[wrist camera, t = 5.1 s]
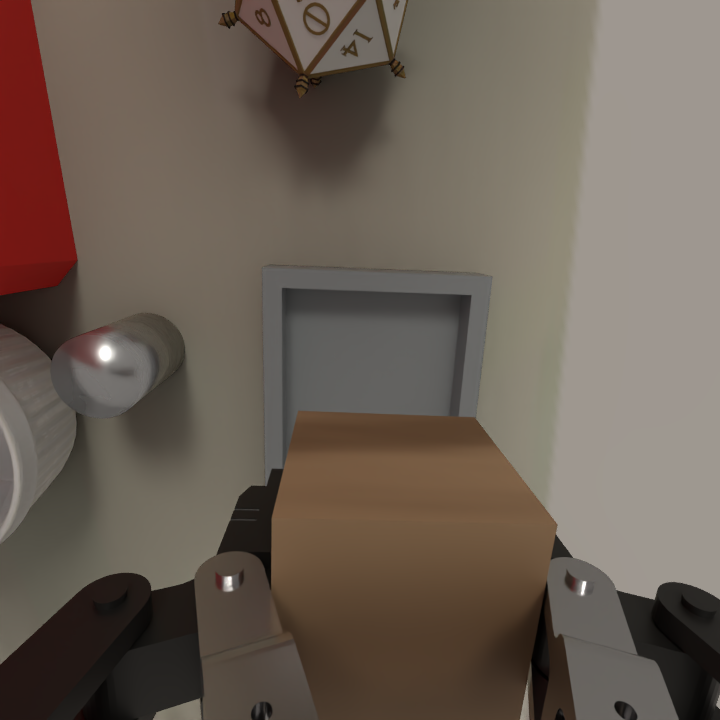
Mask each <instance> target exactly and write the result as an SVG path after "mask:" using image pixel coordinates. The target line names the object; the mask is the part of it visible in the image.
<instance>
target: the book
mask: <svg viewBox="0 0 720 720" xmlns="http://www.w3.org/2000/svg"><path fill="white" fill-rule="evenodd" d="M76 261H77V254H76V249H75V243H74V238H73V232H72V227H71V221H70V215H69V210H68V204H67V199H66V193H65V188H64V182H63V177H62V171H61V166H60V160H59V155H58V149H57V144H56V138H55V133H54V127H53V121H52V116H51V110H50V105H49V99H48V94H47V88H46V83H45V77H44V72H43V66H42V61H41V55H40V50H39V44H38V39H37V33H36V27H35V22H34V16H33V11H32V5H31V0H0V295H5V294H11V293H17V292H23V291H29V290H35V289H41V288H47V287H53V286H58V284H59V283H60V282H61V280H62V279H63V278H64V277H65V275H66V274H67V273H68V272H69V270H70V269H71V268H72V266H73V265H74V264H75V263H76Z"/></svg>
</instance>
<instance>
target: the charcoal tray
mask: <svg viewBox="0 0 720 720" xmlns="http://www.w3.org/2000/svg"><path fill="white" fill-rule="evenodd" d="M491 285H492V276H488V275H484V274H480V273H463V272H438V271H414V270H389V269H364V268H339V267H314V266H289V265H267V266H265V267H262V303H263V369H264V434H265V486H267V483H268V479H269V476H270V473H271V469H272V468H274V469H284V466H285V462H286V458H287V454H288V450H289V446H290V442H291V438H292V433H293V429H294V425H295V421H296V417H297V413H298V411H320V412H347V413H374V414H401V415H428V416H455V417H475V419H476V411H477V403H478V395H479V386H480V378H481V369H482V361H483V353H484V344H485V336H486V327H487V319H488V310H489V302H490V294H491Z"/></svg>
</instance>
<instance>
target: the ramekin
mask: <svg viewBox="0 0 720 720" xmlns="http://www.w3.org/2000/svg"><path fill="white" fill-rule="evenodd" d="M51 362H52V361H51V360H50V358H49V357H48V356H47V355H46V354H45V353H44V352H43V351H42V350H41V349H40V348H39V347H38V346H37V345H35V344H34V343H32V342H31V341H30V340H29V339H27V338H26V337H25V336H23V335H21V334H19V333H17V332H16V331H14V330H13V329H11V328H8V327H6V326H3V325H2V324H0V544H1V543H2V542H3V541H4V540H6V539H7V538H8V537H9V536H10V535H11V534H12V533H13V532H14V531H15V530H16V529H17V527H18V526H19V525H20V523H21V522H22V521H23V519H24V518H25V516H26V514H27V513H28V511H29V509H30V507H31V506H32V505H33V504H34V503H35V502H36V500H37V499H38V498H39V497H40V496H41V495H42V494H43V492H44V491H45V490H46V489H47V488H48V486H49V485H50V484H51V483H52V481H53V480H54V479H55V478H56V477H57V475H58V474H59V473H60V472H61V470H62V469H63V467H64V465H65V462H66V461H67V459H68V458H69V455H70V452H71V450H72V448H73V446H74V440H75V437H76V426H77V422H76V411H75V410H73V409H72V408H70V407H69V406H68V405H67V404H65V403H64V402H63V400H62V399H61V398H60V397H59V395H58V394H57V392H56V391H55V389H54V386H53V384H52V380H51V373H50V369H51Z"/></svg>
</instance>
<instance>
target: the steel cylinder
mask: <svg viewBox="0 0 720 720" xmlns="http://www.w3.org/2000/svg"><path fill="white" fill-rule="evenodd" d="M184 353H185V346H184V341H183V338H182V336H181V334H180V332H179V330H178V329H177V328H176V327H175V325H174V324H173V323H171V322H170V321H169V320H167V319H166V318H164V317H162V316H159V315H157V314H152V313H140V314H136V315H133V316H130V317H127V318H125V319H122V320H119V321H117V322H114V323H111V324H109V325H106V326H103V327H101V328H98V329H95V330H93V331H90V332H87V333H85V334H82V335H79V336H77V337H74V338H72V339H70V340H68V341H66V342H65V343H63V344H62V345H61V346H60V347H59V348H58V350H57V351H56V353H55V354H54V356H53V359H52V362H51V369H50V373H51V380H52V384H53V386H54V389H55V391H56V392H57V394H58V395H59V397H60V398H61V399H62V400H63V402H64V403H65V404H67V405H68V406H69V407H70V408H72V409H73V410H75V411H76V412H78V413H80V414H83V415H85V416H88V417H93V418H111V417H115V416H118V415H120V414H122V413H124V412H126V411H127V410H128V409H130V408H131V407H132V406H133V405H135V404H136V403H137V402H138V401H139V400H141V399H142V398H143V397H144V396H146V395H147V394H148V393H149V392H151V391H152V390H153V389H154V388H155V387H157V386H158V385H159V384H160V383H162V382H163V381H164V380H165V379H166V378H168V377H169V376H170V375H171V374H173V373H174V372H175V371H176V370H177V369H178V368H179V367H180V365H181V363H182V361H183V358H184Z"/></svg>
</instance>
